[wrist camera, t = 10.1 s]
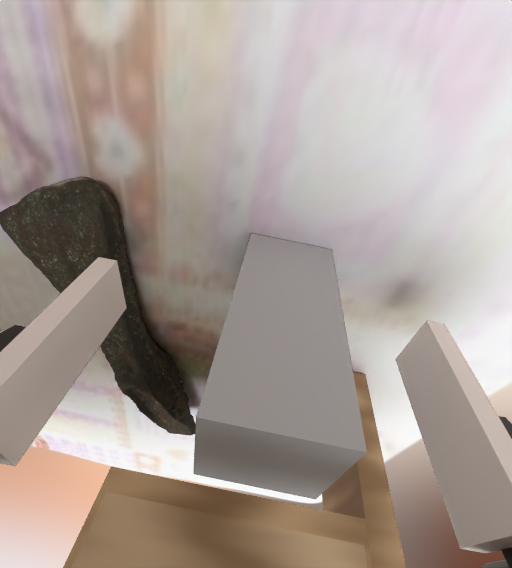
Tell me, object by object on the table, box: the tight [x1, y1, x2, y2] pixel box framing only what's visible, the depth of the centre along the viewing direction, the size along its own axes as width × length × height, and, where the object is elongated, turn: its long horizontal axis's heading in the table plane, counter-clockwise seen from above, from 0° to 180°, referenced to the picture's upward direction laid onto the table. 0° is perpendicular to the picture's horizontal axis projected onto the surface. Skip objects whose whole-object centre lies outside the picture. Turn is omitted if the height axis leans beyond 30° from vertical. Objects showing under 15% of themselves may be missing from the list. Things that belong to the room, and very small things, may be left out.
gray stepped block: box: [194, 233, 367, 499], centre depth 15 cm, size 4×17×9 cm, turn 171°
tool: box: [0, 177, 196, 435], centre depth 18 cm, size 21×8×3 cm, turn 15°
